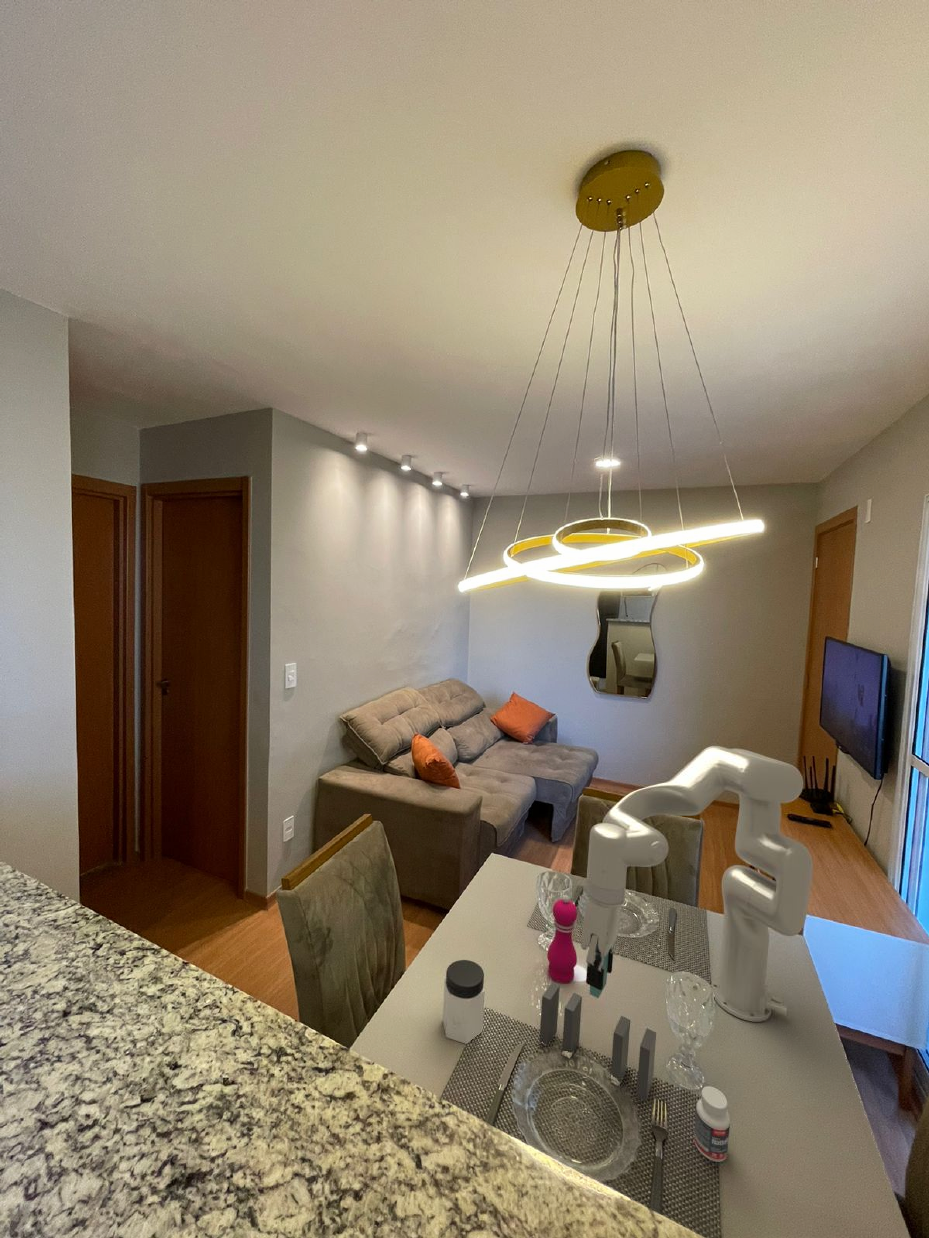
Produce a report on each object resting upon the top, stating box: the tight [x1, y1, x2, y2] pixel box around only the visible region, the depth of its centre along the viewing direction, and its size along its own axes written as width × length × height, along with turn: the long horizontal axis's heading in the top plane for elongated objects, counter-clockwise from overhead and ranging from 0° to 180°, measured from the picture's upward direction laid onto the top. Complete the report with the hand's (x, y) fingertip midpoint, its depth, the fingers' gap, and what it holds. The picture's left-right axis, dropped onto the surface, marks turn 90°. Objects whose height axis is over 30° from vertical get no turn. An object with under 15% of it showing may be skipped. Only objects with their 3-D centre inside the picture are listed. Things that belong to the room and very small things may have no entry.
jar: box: [442, 959, 486, 1045], centre depth 110 cm, size 9×8×12 cm
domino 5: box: [636, 1027, 657, 1103], centre depth 98 cm, size 2×5×10 cm, turn 147°
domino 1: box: [538, 981, 561, 1046], centre depth 109 cm, size 2×5×10 cm, turn 147°
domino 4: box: [610, 1015, 631, 1083], centre depth 101 cm, size 2×5×10 cm, turn 147°
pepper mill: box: [546, 894, 578, 984], centre depth 128 cm, size 7×7×20 cm
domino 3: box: [589, 948, 609, 999], centre depth 103 cm, size 2×5×10 cm, turn 147°
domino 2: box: [561, 992, 583, 1052], centre depth 107 cm, size 2×5×10 cm, turn 147°
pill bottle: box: [693, 1085, 731, 1163], centre depth 89 cm, size 5×5×9 cm
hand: (599, 976), depth 103 cm, fingers closed on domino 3, 4 cm apart
